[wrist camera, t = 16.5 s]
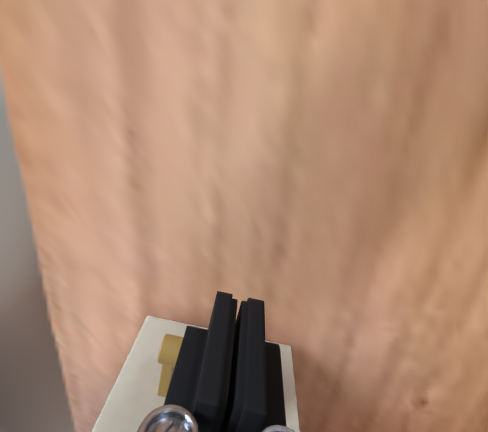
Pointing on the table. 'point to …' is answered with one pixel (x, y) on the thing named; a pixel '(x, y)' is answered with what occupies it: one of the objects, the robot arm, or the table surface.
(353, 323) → the table surface
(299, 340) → the table surface
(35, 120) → the table surface
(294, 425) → the drawer
